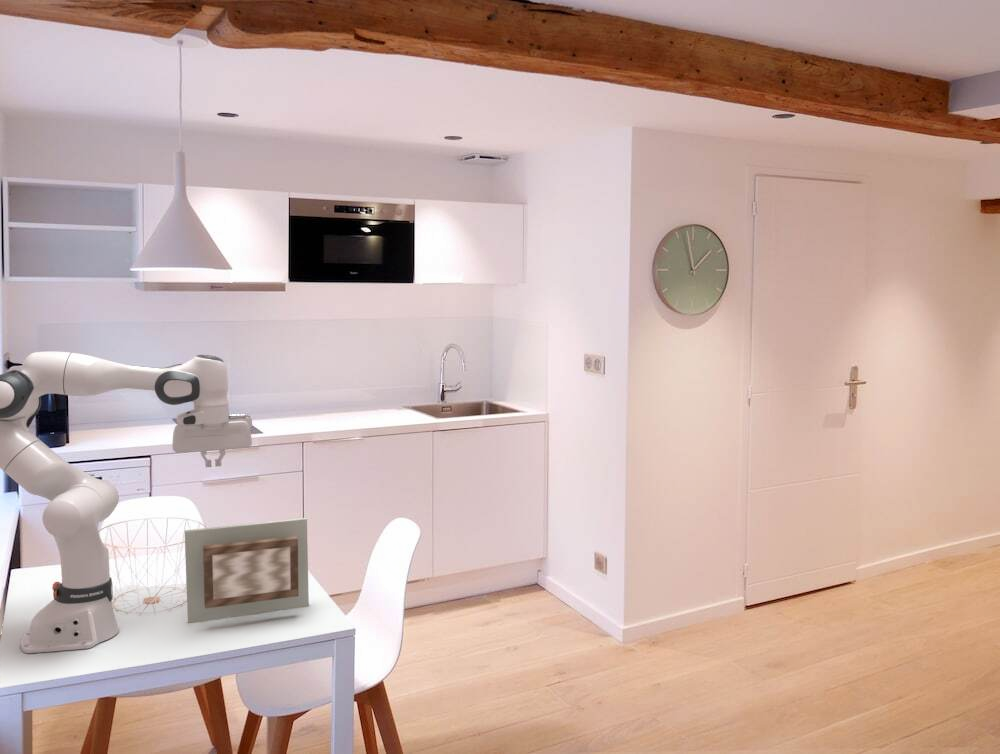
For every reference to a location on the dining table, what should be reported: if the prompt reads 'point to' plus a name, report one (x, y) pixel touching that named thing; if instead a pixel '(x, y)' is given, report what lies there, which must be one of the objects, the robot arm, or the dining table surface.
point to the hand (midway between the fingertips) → (213, 466)
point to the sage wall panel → (241, 534)
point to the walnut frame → (250, 571)
